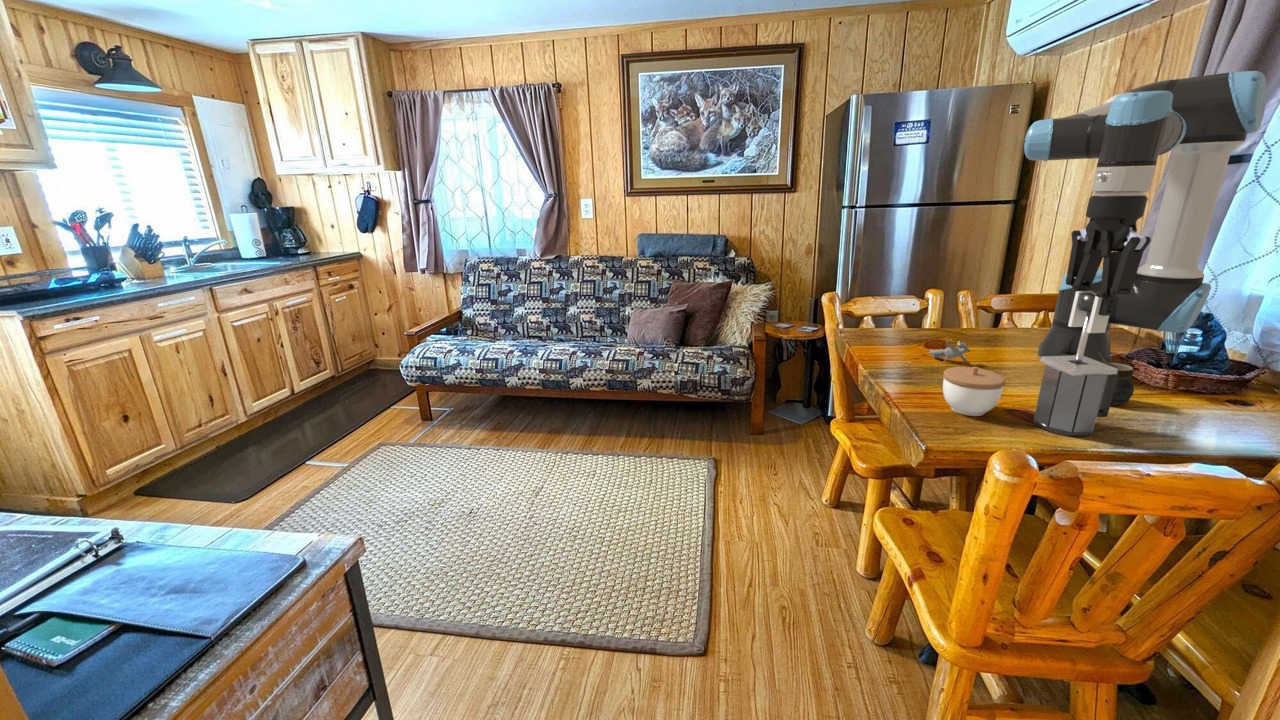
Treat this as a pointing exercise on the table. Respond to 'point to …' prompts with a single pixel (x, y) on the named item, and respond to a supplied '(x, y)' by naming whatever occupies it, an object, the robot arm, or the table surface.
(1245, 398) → the table surface
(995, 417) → the table surface
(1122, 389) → the mate gourd
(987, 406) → the lidded jar
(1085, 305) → the plunger
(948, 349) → the grey animal figurine
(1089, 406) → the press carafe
